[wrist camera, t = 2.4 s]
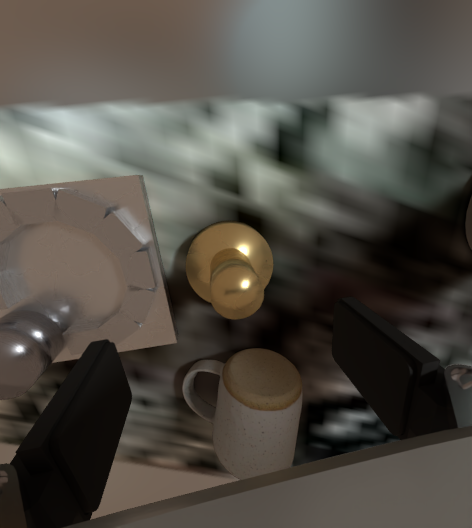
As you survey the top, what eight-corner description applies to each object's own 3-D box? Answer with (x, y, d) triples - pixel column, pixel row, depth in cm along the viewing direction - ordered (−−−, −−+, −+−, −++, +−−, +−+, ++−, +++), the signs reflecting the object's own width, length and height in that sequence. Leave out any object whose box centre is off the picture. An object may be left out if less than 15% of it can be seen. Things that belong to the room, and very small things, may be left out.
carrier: (142, 175, 17) (119, 173, 12) (178, 334, 22) (171, 374, 17) (-115, 202, 16) (-245, 210, 11) (-17, 365, 20) (-79, 417, 16)
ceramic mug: (290, 341, 24) (324, 411, 16) (279, 401, 26) (305, 484, 19) (184, 342, 22) (171, 418, 15) (184, 405, 25) (173, 495, 18)
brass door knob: (265, 215, 19) (292, 229, 13) (270, 291, 21) (296, 334, 15) (179, 226, 19) (165, 248, 12) (195, 303, 21) (189, 353, 15)
